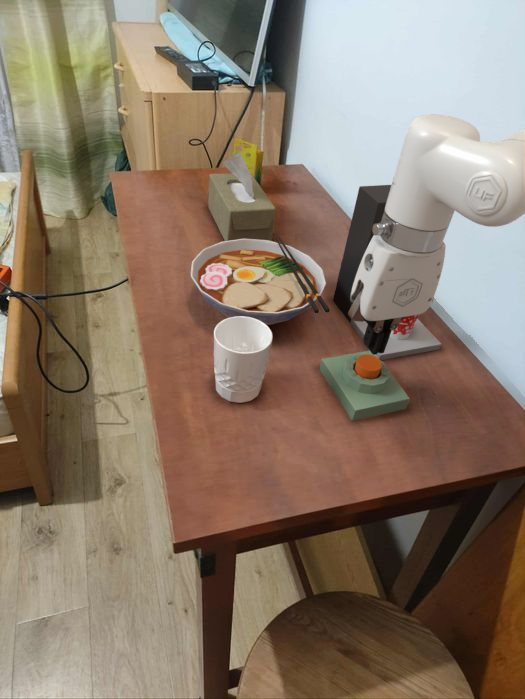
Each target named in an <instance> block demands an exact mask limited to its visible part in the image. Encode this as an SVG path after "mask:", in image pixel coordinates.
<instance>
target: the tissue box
mask: <svg viewBox="0 0 525 699" xmlns="http://www.w3.org/2000/svg"><path fill="white" fill-rule="evenodd" d="M222 163H223V165H224V166H225V168H226V169H227V170H228V171H229V172H230V173H210V174H209V177H208V199H207V200H208V201H207V202H208V203H207V207H208V210H209V212H210V214H211V216H212V218H213V220H214V222H215V224H216V226H217V228H218V230H219V232H220V235H221V236H222V239H223V240H224V241H231V240H237V239H256V240H268V241H272V242H273V237H274V235H273V233H274V229H275V221H276V213H277V209H276V207H275V206H274V204H273V203H272V201H271V200H270V198H269V197H268V195H267V194H266V192H265V191H264V190H263V188H262V186H260V185H259V184H258V183H257V181H256V180H255V178H254V177H253V175H252V174H251V173H250V172H249V170H248V168H247V166H246V163H245V161H244V159H243V157H242V155H241V154H240V153H238V154H236V155H235V156H233V155H232V156H230V157H229V158H228V159H227V160H224V161H222Z"/></svg>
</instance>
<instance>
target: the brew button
mask: <svg viewBox="0 0 525 699" xmlns="http://www.w3.org/2000/svg"><path fill="white" fill-rule="evenodd" d="M381 361H382V360H381ZM381 361H380V360H379V359H378V358H377V357H375V356H372V355H368V354H365V355H361V356H359V357H358V359H357V362H356V365H355V372H356V373H357V375H359V376H361V377H362V378H365V379H375V378H377V377H378V375H379V373H380V370H381V367H382V364H381Z"/></svg>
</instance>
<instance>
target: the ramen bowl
mask: <svg viewBox="0 0 525 699" xmlns="http://www.w3.org/2000/svg"><path fill="white" fill-rule="evenodd" d="M273 237H274V239H275V241H273V240H272V241H268V240H256V239H237V240H231V241H225V240H224V241H220V242H218V243H215V244H212V245H210V246H207V247H205V248H203V249H202V250H200V252H199V253H198V254H197V255H196V256H195V257H194V258H193V260H191V266H190V267H191V268H190V278H191V280H192V281H193V283H194V286H196V288H197V289H198V291H199V293H200V294H201V296H202V297H203V299H204V300H205V301H206V302H207V303H208V305H210V306H211V307H212V308H213V309H215V310H216V311H218V312H219V313H220V314H222V315H223V316H225V317H227V318H230V317H236V316H245V317H251V318H254V319H257V320H259V321H261V322H263V323H264V324H266V325H267V326H268V325H269V326H270V325H275V324H278V323H283V322H287V321H290V320H291V319H294V318H295V317H296V316H298V315H300V314H302V313H304V312H305V311H307V310H308V309H309V308H311V310H312V311H313V313H314V315H315V314H320V309H319V307H318V305H317V304H316V302H318V303H319V305H320V306H321V308H322V310H323V311H324V312H325V313H326V314H327V313H330V311H331V308H330V307H329V306H328V304H327V302H326V300H324V298H323V297H322V293H323V291H324V289H325V287H326V285H327V281H326V278H325V277H326V276H325V274H324V270H323V268H322V267H321V266H320V265H319V264H318V263H317V262H316V261H315V260H314V259H313V258H312V257H311V256H310V255H308V254H306V253H305V252H302V251H301V250H298V249H296V248H295V247H293V246H291V245H287V244H285V243H284V242H283V240H282V239H281V237H280V236H279V234H278V233H277V232H275V233H274V232H273Z"/></svg>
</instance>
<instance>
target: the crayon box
mask: <svg viewBox="0 0 525 699" xmlns="http://www.w3.org/2000/svg"><path fill="white" fill-rule="evenodd" d="M233 140H234V141H233V151H232V157H233V156H235V155H236V154H238V153H240V154H241V155H242V157H243V159H244V161H245V163H246V166H247V168H248V170H249V172H250V173H251V174H252V175H253V177H254V178H255V180H256V181H257V183H258V184H259V185H260V187H262V186H261V185H262V175H263V163H264V155H265V154H264V151H263V150H260V149H258V148H259V147H258V145H257V144H253V143H251V142H249V141H245V140H243V139H240V138H238V137H234V139H233Z"/></svg>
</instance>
